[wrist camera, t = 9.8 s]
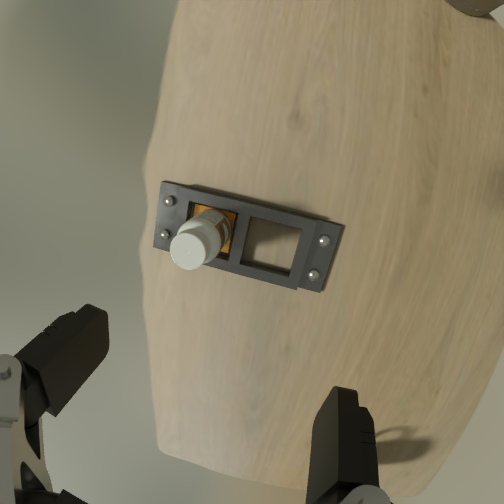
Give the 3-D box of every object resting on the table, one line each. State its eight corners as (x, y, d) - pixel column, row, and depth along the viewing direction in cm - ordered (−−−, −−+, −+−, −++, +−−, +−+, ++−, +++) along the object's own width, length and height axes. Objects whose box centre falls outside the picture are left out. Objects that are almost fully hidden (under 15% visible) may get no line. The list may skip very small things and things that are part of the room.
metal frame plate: (162, 181, 33) (158, 182, 32) (341, 225, 32) (342, 228, 31) (154, 245, 36) (150, 249, 35) (319, 291, 35) (320, 296, 34)
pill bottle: (227, 252, 35) (206, 281, 28) (190, 241, 35) (162, 267, 28) (236, 214, 33) (215, 235, 26) (197, 204, 33) (168, 221, 26)
